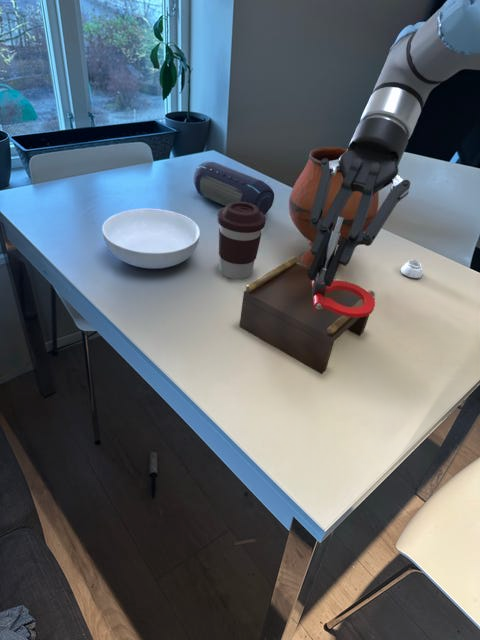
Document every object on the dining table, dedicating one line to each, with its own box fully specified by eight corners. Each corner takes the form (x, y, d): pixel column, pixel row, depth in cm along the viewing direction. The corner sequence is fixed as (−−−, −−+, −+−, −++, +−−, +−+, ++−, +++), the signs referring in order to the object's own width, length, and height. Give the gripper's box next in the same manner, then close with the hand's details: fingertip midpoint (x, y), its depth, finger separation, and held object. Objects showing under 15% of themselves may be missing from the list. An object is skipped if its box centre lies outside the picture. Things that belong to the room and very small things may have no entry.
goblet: (292, 286, 97) (315, 172, 82) (270, 244, 111) (286, 141, 96) (372, 284, 101) (409, 175, 86) (340, 243, 116) (367, 144, 101)
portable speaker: (186, 195, 130) (187, 161, 124) (210, 188, 137) (212, 155, 131) (253, 226, 119) (257, 189, 113) (275, 216, 125) (280, 181, 119)
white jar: (399, 266, 109) (400, 276, 105) (403, 256, 107) (404, 266, 103) (420, 271, 108) (422, 281, 104) (424, 260, 107) (426, 270, 103)
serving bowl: (115, 287, 90) (113, 257, 85) (96, 239, 104) (94, 211, 100) (212, 273, 98) (214, 245, 93) (182, 231, 112) (182, 205, 108)
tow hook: (368, 291, 69) (309, 281, 69) (398, 214, 62) (332, 203, 61) (376, 324, 63) (312, 313, 62) (412, 243, 55) (338, 230, 55)
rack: (363, 332, 86) (377, 291, 80) (321, 375, 75) (334, 331, 70) (286, 294, 94) (294, 254, 88) (238, 327, 83) (244, 284, 78)
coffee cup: (233, 288, 94) (240, 222, 85) (204, 267, 99) (208, 203, 90) (266, 275, 99) (277, 212, 90) (237, 256, 105) (244, 195, 96)
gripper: (431, 159, 65) (370, 305, 63) (336, 136, 70) (276, 271, 68) (440, 127, 58) (370, 291, 56) (333, 104, 63) (265, 254, 61)
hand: (319, 280), depth 62 cm, fingers closed on tow hook, 2 cm apart
